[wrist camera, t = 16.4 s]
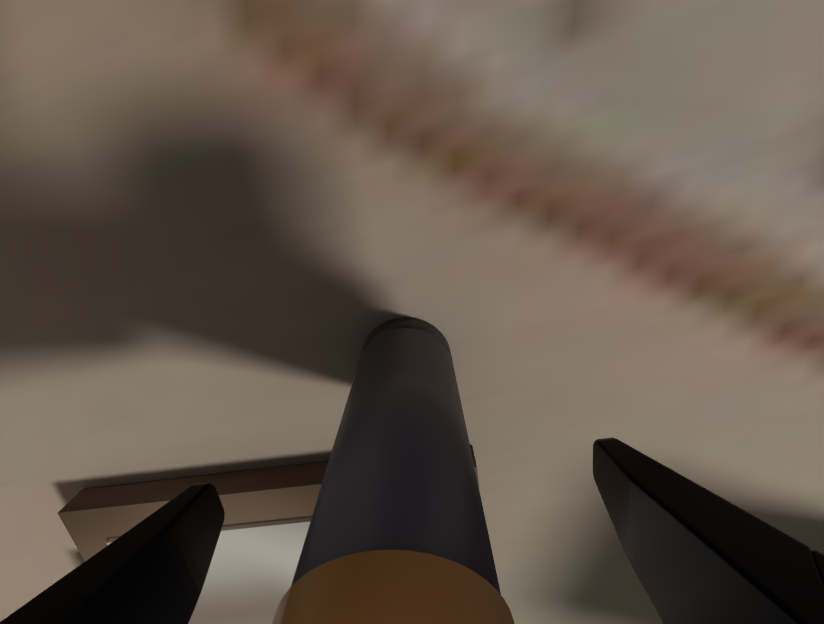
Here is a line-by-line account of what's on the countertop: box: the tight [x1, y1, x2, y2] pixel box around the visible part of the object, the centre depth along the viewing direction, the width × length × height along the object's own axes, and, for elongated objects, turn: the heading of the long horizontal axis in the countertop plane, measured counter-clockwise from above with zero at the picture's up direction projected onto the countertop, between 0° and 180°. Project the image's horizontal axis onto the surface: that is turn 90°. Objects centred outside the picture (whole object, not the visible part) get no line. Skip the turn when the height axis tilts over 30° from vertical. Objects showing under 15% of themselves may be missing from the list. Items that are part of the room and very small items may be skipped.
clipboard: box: [58, 445, 479, 624], centre depth 17 cm, size 14×16×2 cm
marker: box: [272, 317, 514, 624], centre depth 8 cm, size 3×3×12 cm
